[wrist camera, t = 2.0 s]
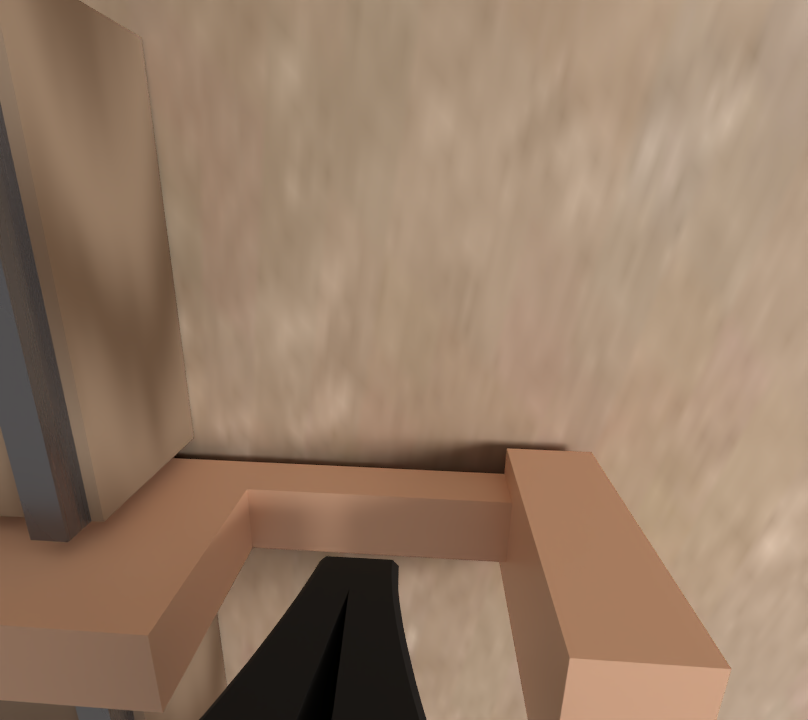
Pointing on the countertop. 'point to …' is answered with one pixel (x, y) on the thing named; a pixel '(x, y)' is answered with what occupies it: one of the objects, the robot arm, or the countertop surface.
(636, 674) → the stepped wooden plank
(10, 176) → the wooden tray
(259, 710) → the robot arm
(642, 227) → the countertop surface
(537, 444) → the countertop surface
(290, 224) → the countertop surface
